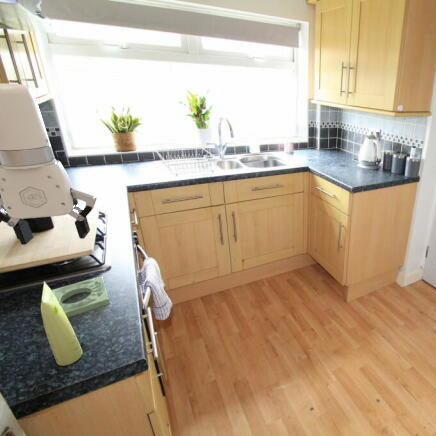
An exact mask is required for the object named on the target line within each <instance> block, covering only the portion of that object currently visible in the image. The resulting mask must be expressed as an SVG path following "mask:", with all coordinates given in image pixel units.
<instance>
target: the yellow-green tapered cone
mask: <svg viewBox="0 0 436 436" xmlns="http://www.w3.org/2000/svg"><path fill="white" fill-rule="evenodd" d="M51 290H52V289H51V288H50V286H49V285H48V284H47V283H46V282H45V280H44V281H43V287H42V295H41V303H40V312H41V319H42V323H43V327H44V331H45V334H46V337H47V340H48V344H49V346H50V349H51V351H52V354H53V358H54V359H55V363H56V364H57V365H58V366H61V367H62V366H63V367H64V366H69V365H72V364H74V363H75V362H77V361H78V360H79V359H80V358H81V357H82V356H83V353H84V351H83V349H82V346H81V344H80V341H79V339H78V337H77V335H76V332H75V330H74V329H73V328H74V327H73V326H72V324H71V322H70V320H69V317H68V318H67V316H66V314H65V312H64V311H63V309H62V307H61V305H60V304H59V302H58V300H57V299H56V297H55V295H54V294H53V292H52V291H51Z"/></svg>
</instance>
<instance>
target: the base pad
mask: <svg viewBox="0 0 436 436" xmlns="http://www.w3.org/2000/svg"><path fill="white" fill-rule="evenodd" d="M51 291H52V292H53V294H54V295H55V297H56V299H57V300H58V302H59V304H60V305H61V307H62V309H63V311H64V312H65V314H66V316H67V318H68V319H69V318H71V317H74V316H78V315H80V314H83V313H86V312H88V311H92V310H95V309H98V308H100V307H104V306H107V305H110V303H111V302H110V299H109V296H108V291H107V287H106V283H105V281H104V277H103V275H100V276H96V277H93V278H89V279H86V280H82V281H79V282H75V283H71V284H68V285H65V286H61V287H58V288H54V289H51ZM83 293H88V294H89V293H90V294H89V295H88V296H87V297H85V298H84V299H81V300H79V301H77V302H73V303H72V302H71V303H64V302H65V301H66V300H67V299H69V298H71V297H72V296H74V295H78V294H83Z"/></svg>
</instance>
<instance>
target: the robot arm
mask: <svg viewBox="0 0 436 436" xmlns="http://www.w3.org/2000/svg"><path fill="white" fill-rule="evenodd" d="M36 98H37V97H36V96H35V93H34V91H33V90H32V88H30V86H27V85H25V84H20V83H1V82H0V221H1V222H3V223H6V224H7V226H8V227H9V228H12V229H13V231H14V234H15V236H16V239H17V240H19V242H20V244H21V246H25V245H27V244H29V243H30V242H31V240H33V239H34V235H33V232H32V230H31V228H30V224H29V223H28V221H27V220H25V219H37V218H50V217H61V216H66V215H69V216H71V217H72V218H73V219H75V221H74V225H75V226H74V227H75V228H76V232H77V235H78V238H79V239H81V240H84V239H86V237H87V236H88V234H89V233H90V231H91V228H90V224H89V221H88V218H87V217H88V216H89V214H90V213H91V212H92V211H93V209H94V208H95V205H96V202H97V198H98V197H96V196H95V195H92V194H89V193H86V192H83V191H80V190H76V189H75V188H74V185H73V183H72V181H71V179H70V176H69V175H68V172H67V171H66V169H65V167H64V166H63V164H62V162H61V161H60V160H58V159H56V157H55V154H54V152H53V151H54V150H53V148H52V145H51V142H50V137H49V135H48V132H47V129H46V126H45V122H44V120H43V116H42V114H41V110H40V108H39V105H38V102H37V101H38V100H37V99H36ZM79 200H80V201H83V202H85V206H84V208H83V207H81V206H79ZM2 206H3V207H4V208H3V207H2Z"/></svg>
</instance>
